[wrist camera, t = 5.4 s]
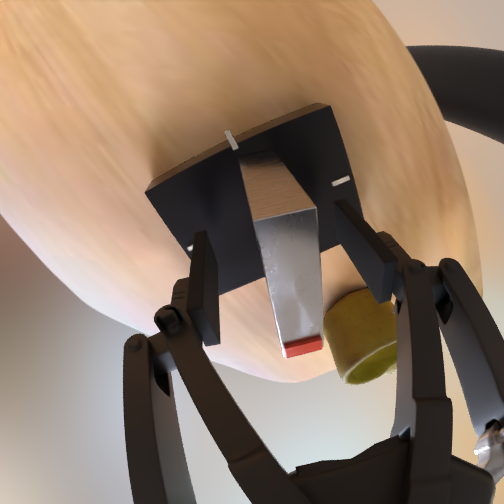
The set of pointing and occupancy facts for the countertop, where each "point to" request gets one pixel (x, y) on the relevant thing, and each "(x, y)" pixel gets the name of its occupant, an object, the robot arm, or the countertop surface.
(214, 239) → the base
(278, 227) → the tap handle
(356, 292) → the mug
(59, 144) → the countertop surface
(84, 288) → the countertop surface
